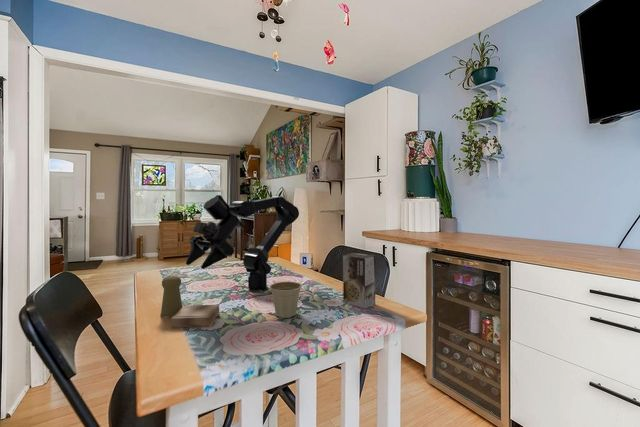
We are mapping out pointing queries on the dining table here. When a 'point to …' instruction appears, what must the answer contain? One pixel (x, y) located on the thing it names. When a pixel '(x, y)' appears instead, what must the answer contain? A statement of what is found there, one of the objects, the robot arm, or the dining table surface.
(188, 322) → the walnut plinth
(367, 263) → the coffee box
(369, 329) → the dining table surface
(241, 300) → the dining table surface
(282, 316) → the flower pot
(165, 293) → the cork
